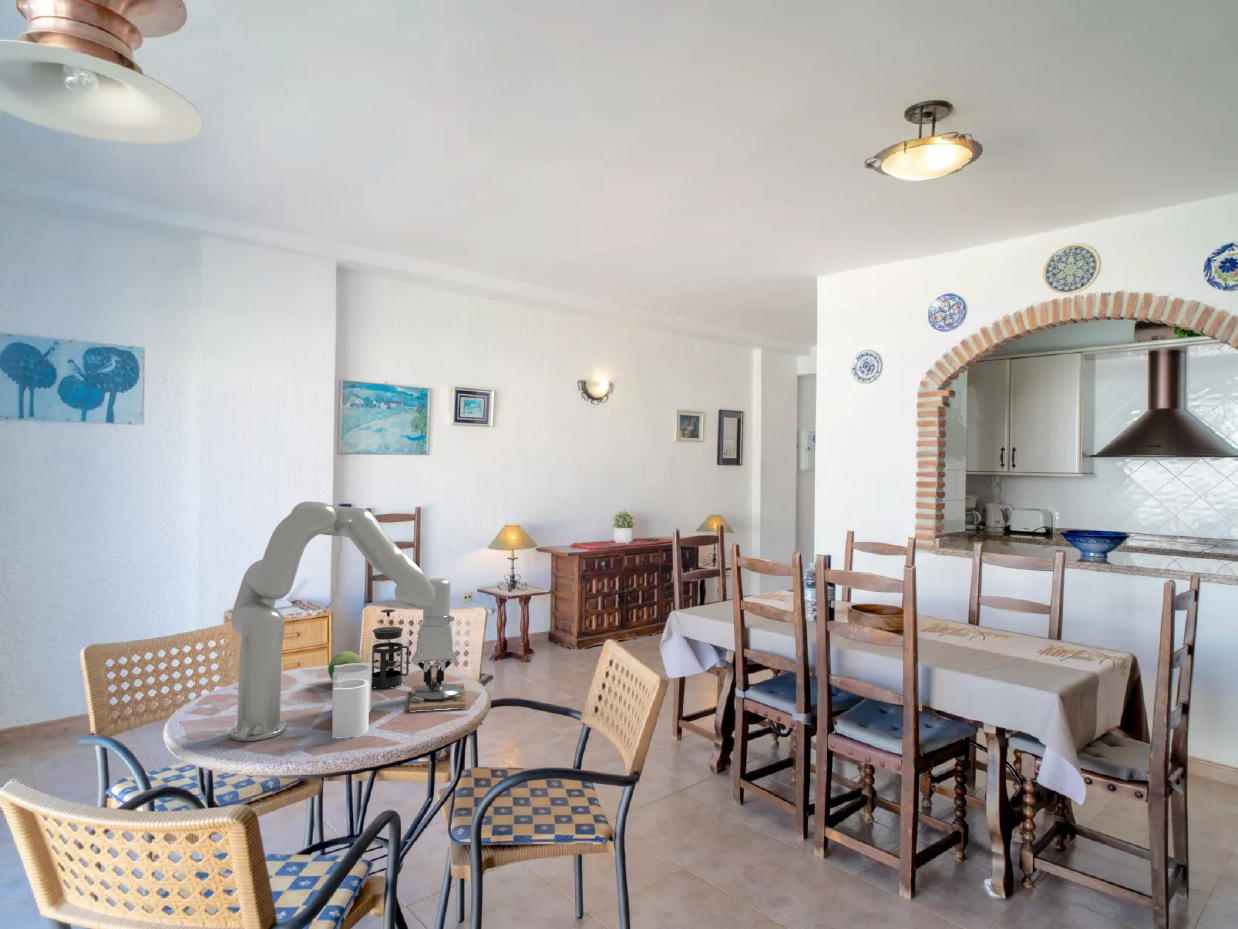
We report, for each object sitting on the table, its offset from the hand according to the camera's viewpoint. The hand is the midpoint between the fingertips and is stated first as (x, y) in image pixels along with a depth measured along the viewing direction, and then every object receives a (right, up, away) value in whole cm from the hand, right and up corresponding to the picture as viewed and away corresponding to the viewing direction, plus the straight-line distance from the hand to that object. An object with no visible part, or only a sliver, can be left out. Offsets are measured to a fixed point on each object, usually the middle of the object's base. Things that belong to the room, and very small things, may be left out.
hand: (433, 683), depth 206 cm
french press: (-17, -4, +10) cm, 20 cm away
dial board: (+2, -4, -4) cm, 6 cm away
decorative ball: (-30, -4, +10) cm, 32 cm away
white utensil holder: (-16, -3, -22) cm, 27 cm away
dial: (+2, -2, -4) cm, 5 cm away
